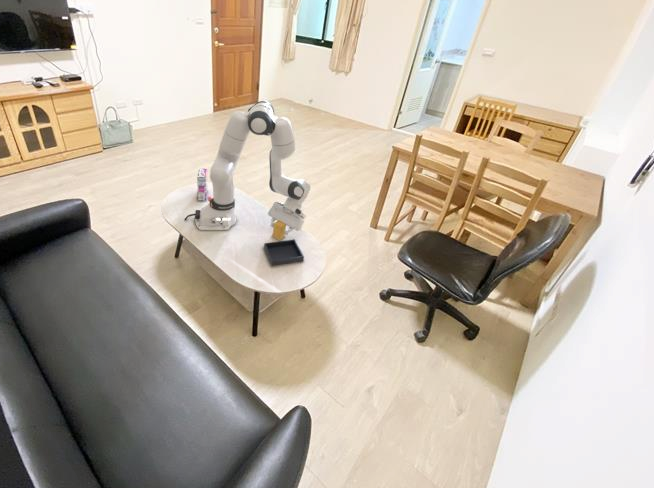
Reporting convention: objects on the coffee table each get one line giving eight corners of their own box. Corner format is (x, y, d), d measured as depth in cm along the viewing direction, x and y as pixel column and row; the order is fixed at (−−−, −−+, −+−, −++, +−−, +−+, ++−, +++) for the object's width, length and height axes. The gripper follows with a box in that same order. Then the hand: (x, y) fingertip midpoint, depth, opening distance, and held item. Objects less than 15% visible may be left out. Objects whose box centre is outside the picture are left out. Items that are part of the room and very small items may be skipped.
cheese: (272, 236, 178) (274, 223, 173) (276, 233, 181) (278, 219, 176) (279, 240, 176) (281, 227, 171) (284, 237, 179) (286, 224, 173)
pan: (271, 266, 159) (272, 261, 157) (263, 248, 170) (264, 243, 168) (303, 261, 164) (304, 256, 162) (293, 244, 174) (294, 239, 173)
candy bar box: (206, 201, 200) (205, 177, 190) (197, 201, 199) (196, 177, 190) (207, 191, 209) (207, 168, 200) (199, 191, 208) (198, 168, 199)
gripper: (273, 198, 179) (260, 220, 177) (305, 214, 169) (292, 237, 168) (277, 201, 184) (265, 223, 183) (308, 217, 175) (295, 240, 173)
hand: (278, 230), depth 175 cm, fingers open, 8 cm apart
